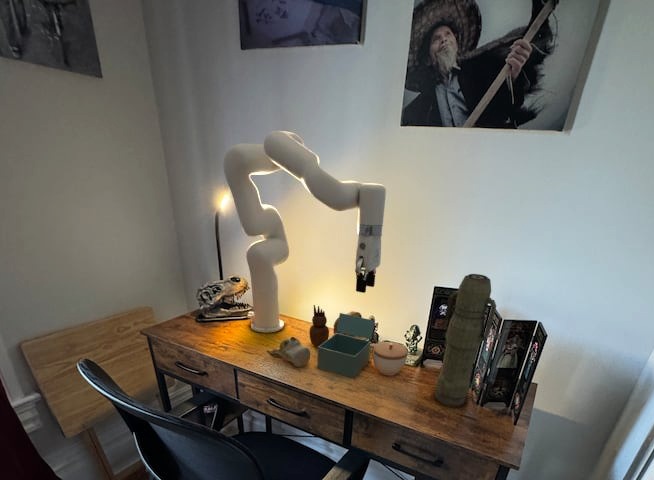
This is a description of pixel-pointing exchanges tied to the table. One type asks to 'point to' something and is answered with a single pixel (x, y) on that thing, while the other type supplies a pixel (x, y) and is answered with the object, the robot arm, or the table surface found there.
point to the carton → (344, 355)
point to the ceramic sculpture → (292, 352)
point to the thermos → (463, 337)
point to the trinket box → (389, 357)
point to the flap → (355, 326)
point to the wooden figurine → (319, 328)
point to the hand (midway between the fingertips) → (365, 288)
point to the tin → (338, 319)
